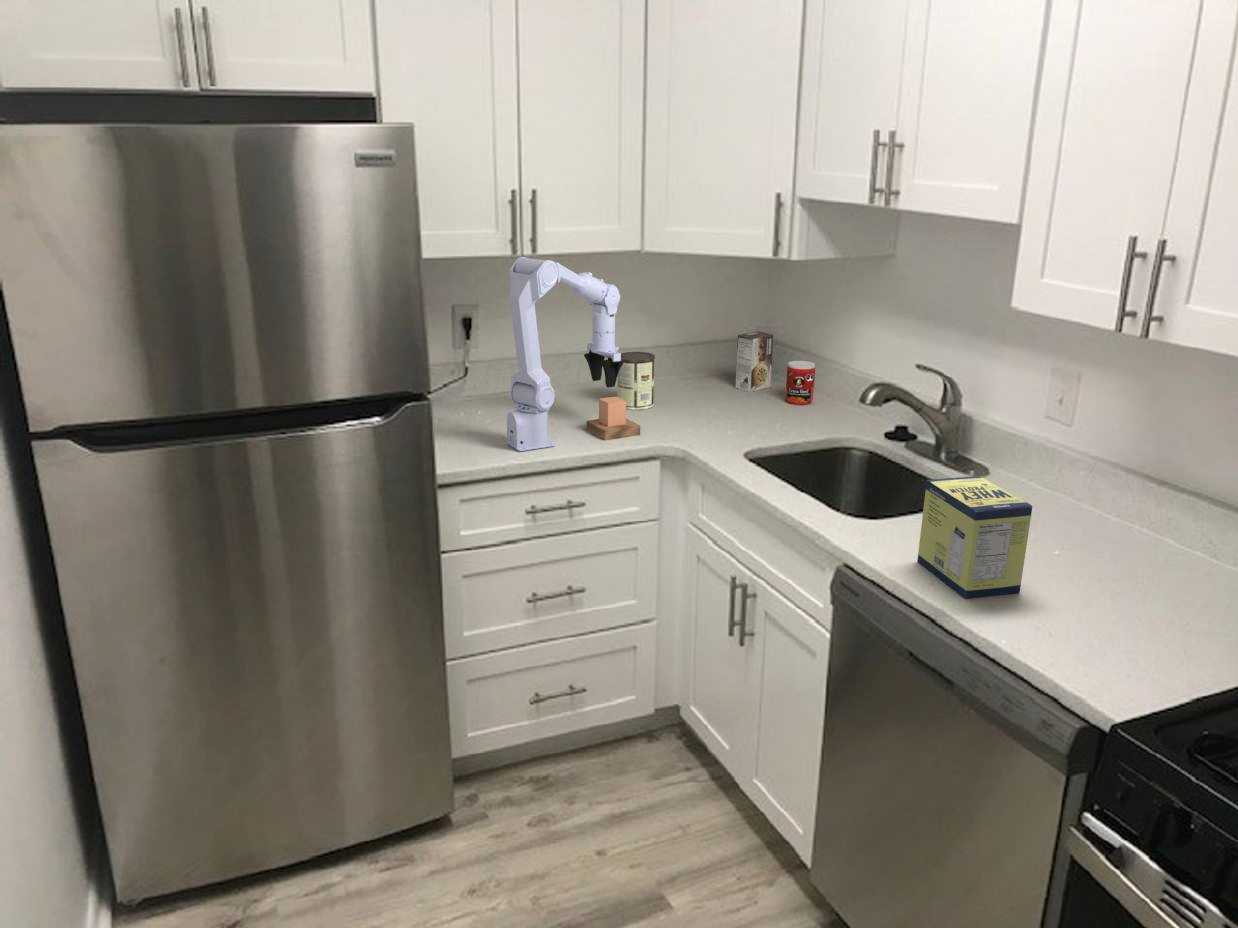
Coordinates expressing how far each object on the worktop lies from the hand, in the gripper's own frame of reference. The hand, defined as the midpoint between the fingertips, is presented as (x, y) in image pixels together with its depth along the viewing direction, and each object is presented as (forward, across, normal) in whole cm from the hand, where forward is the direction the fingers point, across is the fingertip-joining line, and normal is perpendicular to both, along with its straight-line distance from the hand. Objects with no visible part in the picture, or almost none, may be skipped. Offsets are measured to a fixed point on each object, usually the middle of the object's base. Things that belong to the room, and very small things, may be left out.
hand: (603, 383), depth 249 cm
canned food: (+11, -7, -59) cm, 60 cm away
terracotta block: (+8, -9, +2) cm, 12 cm away
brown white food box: (+11, +12, -57) cm, 59 cm away
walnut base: (+11, -9, +2) cm, 14 cm away
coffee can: (+11, +11, -16) cm, 22 cm away
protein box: (+11, -111, -11) cm, 112 cm away
